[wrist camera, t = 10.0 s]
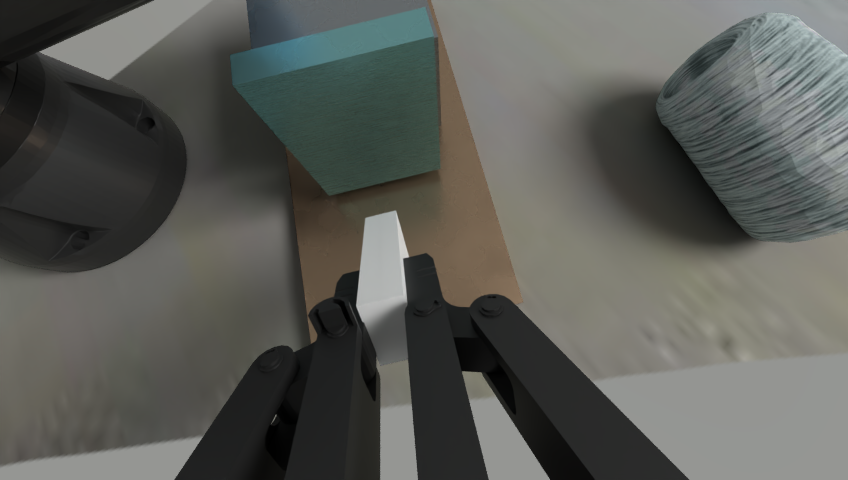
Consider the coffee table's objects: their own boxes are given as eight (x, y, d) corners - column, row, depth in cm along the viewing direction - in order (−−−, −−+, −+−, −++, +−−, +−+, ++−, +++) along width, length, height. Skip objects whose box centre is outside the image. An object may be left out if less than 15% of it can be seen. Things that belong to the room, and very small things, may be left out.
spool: (612, 76, 23) (832, -62, 14) (681, 75, 28) (881, -31, 19) (673, 268, 23) (938, 248, 14) (733, 236, 27) (962, 204, 18)
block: (440, 168, 24) (433, 36, 13) (329, 195, 24) (232, 85, 13) (398, 11, 28) (367, -188, 17) (303, 35, 28) (212, -150, 17)
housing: (520, 303, 23) (563, 285, 14) (317, 351, 23) (238, 362, 14) (428, 3, 30) (420, -130, 22) (276, 40, 30) (206, -77, 22)
